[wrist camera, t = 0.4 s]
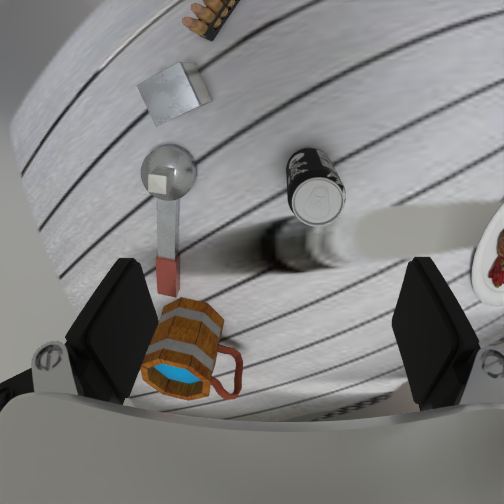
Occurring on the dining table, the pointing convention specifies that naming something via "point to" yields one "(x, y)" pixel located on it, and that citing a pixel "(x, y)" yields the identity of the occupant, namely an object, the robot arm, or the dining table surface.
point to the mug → (188, 352)
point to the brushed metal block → (174, 92)
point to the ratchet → (168, 207)
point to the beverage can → (314, 188)
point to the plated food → (490, 262)
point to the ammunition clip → (209, 17)
